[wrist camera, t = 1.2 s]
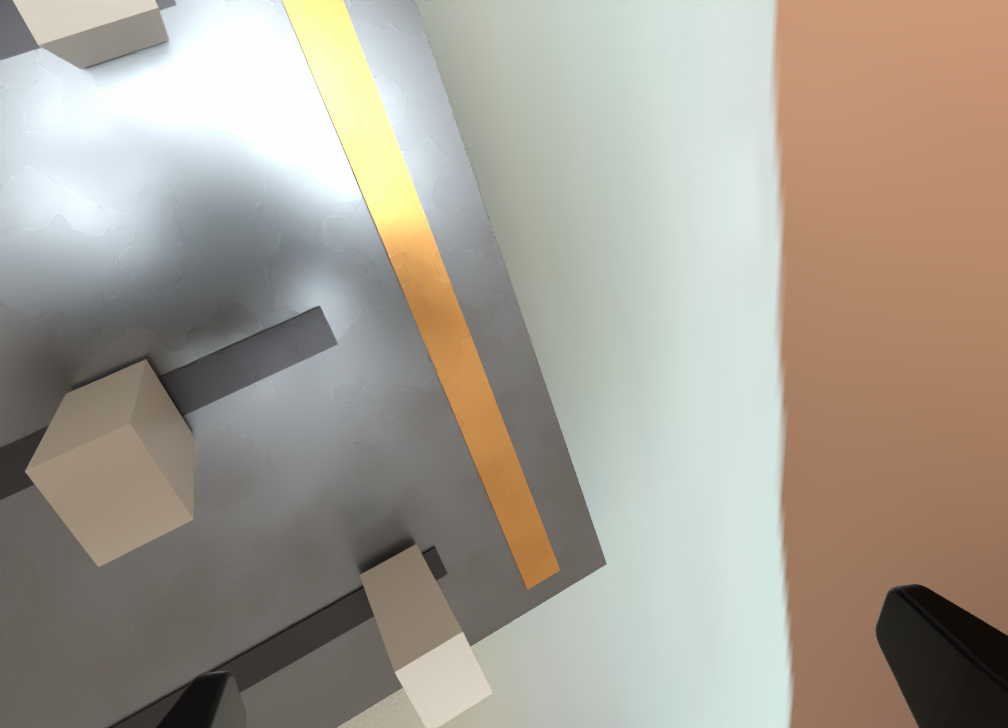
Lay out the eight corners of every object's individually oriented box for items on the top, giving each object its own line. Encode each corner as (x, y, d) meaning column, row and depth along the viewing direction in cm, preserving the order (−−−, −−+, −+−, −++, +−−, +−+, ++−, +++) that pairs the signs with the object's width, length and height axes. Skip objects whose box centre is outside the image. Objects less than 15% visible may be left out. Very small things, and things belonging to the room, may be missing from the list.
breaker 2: (389, 629, 23) (429, 732, 19) (359, 575, 22) (394, 672, 18) (443, 598, 23) (492, 692, 19) (416, 543, 22) (462, 631, 18)
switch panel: (18, 868, 23) (1, 932, 21) (-909, 34, 12) (-1115, 16, 10) (581, 537, 28) (607, 565, 26) (302, -250, 17) (314, -298, 15)
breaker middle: (120, 473, 18) (98, 567, 14) (65, 393, 17) (24, 471, 13) (195, 438, 19) (193, 519, 15) (145, 358, 17) (129, 423, 14)
